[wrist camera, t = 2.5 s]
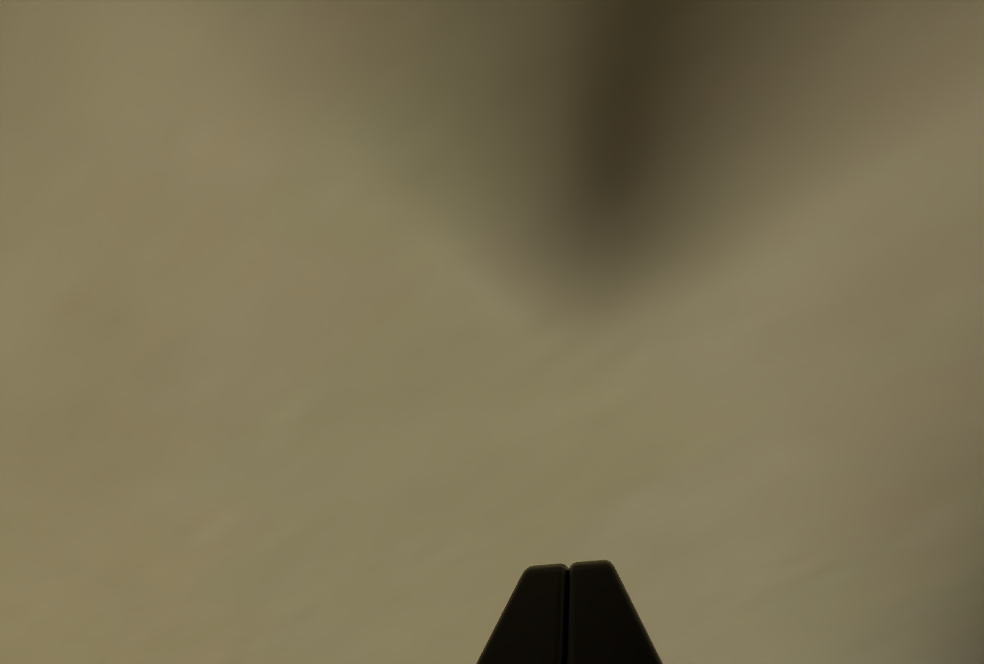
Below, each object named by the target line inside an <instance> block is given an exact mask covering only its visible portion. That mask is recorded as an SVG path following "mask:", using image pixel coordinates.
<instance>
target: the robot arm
mask: <svg viewBox="0 0 984 664" xmlns="http://www.w3.org/2000/svg"><path fill="white" fill-rule="evenodd" d="M476 664H663V663H662V661H661V659H660V657H659V655H658V653H657V651H656V649H655V647H654V645H653V643H652V641H651V639H650V637H649V635H648V633H647V631H646V629H645V627H644V625H643V623H642V621H641V619H640V617H639V615H638V613H637V611H636V609H635V607H634V605H633V603H632V601H631V599H630V597H629V595H628V593H627V591H626V589H625V587H624V585H623V583H622V581H621V579H620V577H619V575H618V573H617V571H616V569H615V567H614V566H613V564H612V563H611V562H610V561H607V560H598V561H586V562H576V563H573V564H572V565H571V566H570V568H568V567H567V566H566V565H564V564H549V565H537V566H531V567H529V568H527V569H526V570H525V571H524V572H523V574H522V576H521V578H520V579H519V581H518V583H517V585H516V587H515V589H514V591H513V593H512V595H511V597H510V599H509V601H508V603H507V605H506V607H505V609H504V611H503V613H502V615H501V617H500V619H499V621H498V622H497V624H496V626H495V628H494V630H493V632H492V634H491V636H490V638H489V640H488V642H487V644H486V646H485V648H484V650H483V652H482V654H481V656H480V658H479V660H478V662H477V663H476Z"/></svg>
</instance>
